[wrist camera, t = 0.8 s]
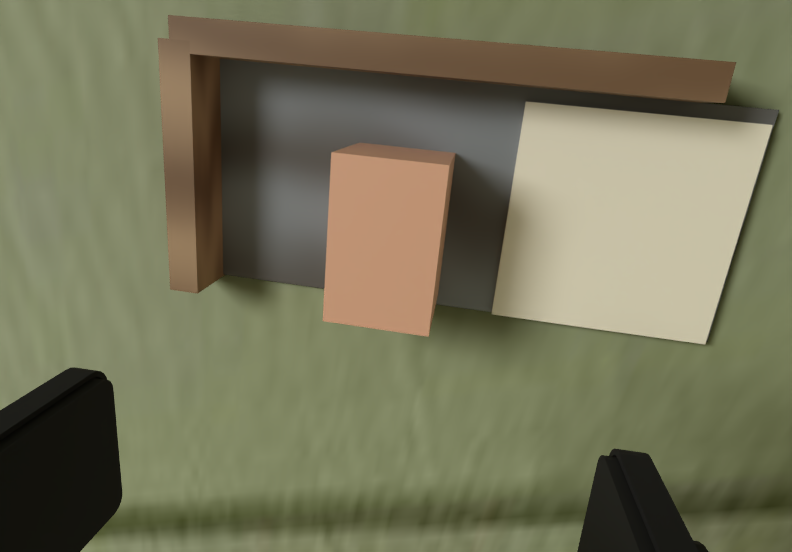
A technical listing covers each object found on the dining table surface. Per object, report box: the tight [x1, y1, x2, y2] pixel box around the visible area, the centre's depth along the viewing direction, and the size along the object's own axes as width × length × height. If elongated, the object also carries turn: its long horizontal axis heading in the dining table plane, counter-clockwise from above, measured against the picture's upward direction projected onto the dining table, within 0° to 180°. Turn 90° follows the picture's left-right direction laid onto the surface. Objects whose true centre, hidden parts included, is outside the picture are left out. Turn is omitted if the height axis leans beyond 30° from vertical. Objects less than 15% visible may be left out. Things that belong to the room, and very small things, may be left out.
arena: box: [158, 15, 779, 342], centre depth 24 cm, size 12×26×3 cm, turn 85°
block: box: [323, 143, 456, 337], centre depth 23 cm, size 7×4×5 cm, turn 175°
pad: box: [492, 102, 773, 344], centre depth 24 cm, size 10×10×1 cm
